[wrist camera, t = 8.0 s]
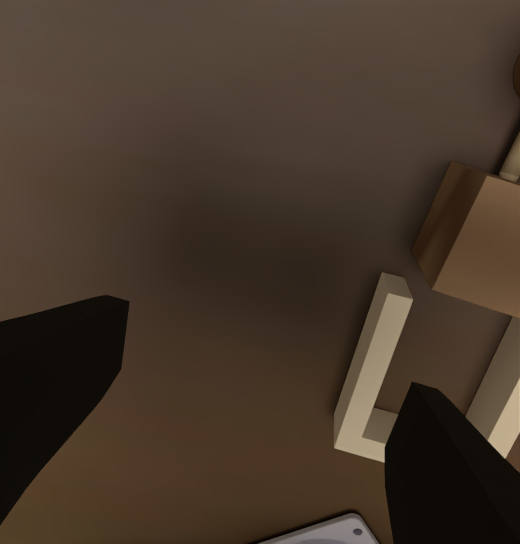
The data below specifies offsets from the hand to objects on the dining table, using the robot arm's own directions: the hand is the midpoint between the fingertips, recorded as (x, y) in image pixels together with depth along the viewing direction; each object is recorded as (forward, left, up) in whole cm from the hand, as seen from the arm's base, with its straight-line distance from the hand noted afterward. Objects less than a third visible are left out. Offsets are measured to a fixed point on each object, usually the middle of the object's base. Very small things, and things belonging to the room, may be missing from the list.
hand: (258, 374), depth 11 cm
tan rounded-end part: (-1, -9, -10) cm, 14 cm away
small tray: (-8, -3, -10) cm, 13 cm away
